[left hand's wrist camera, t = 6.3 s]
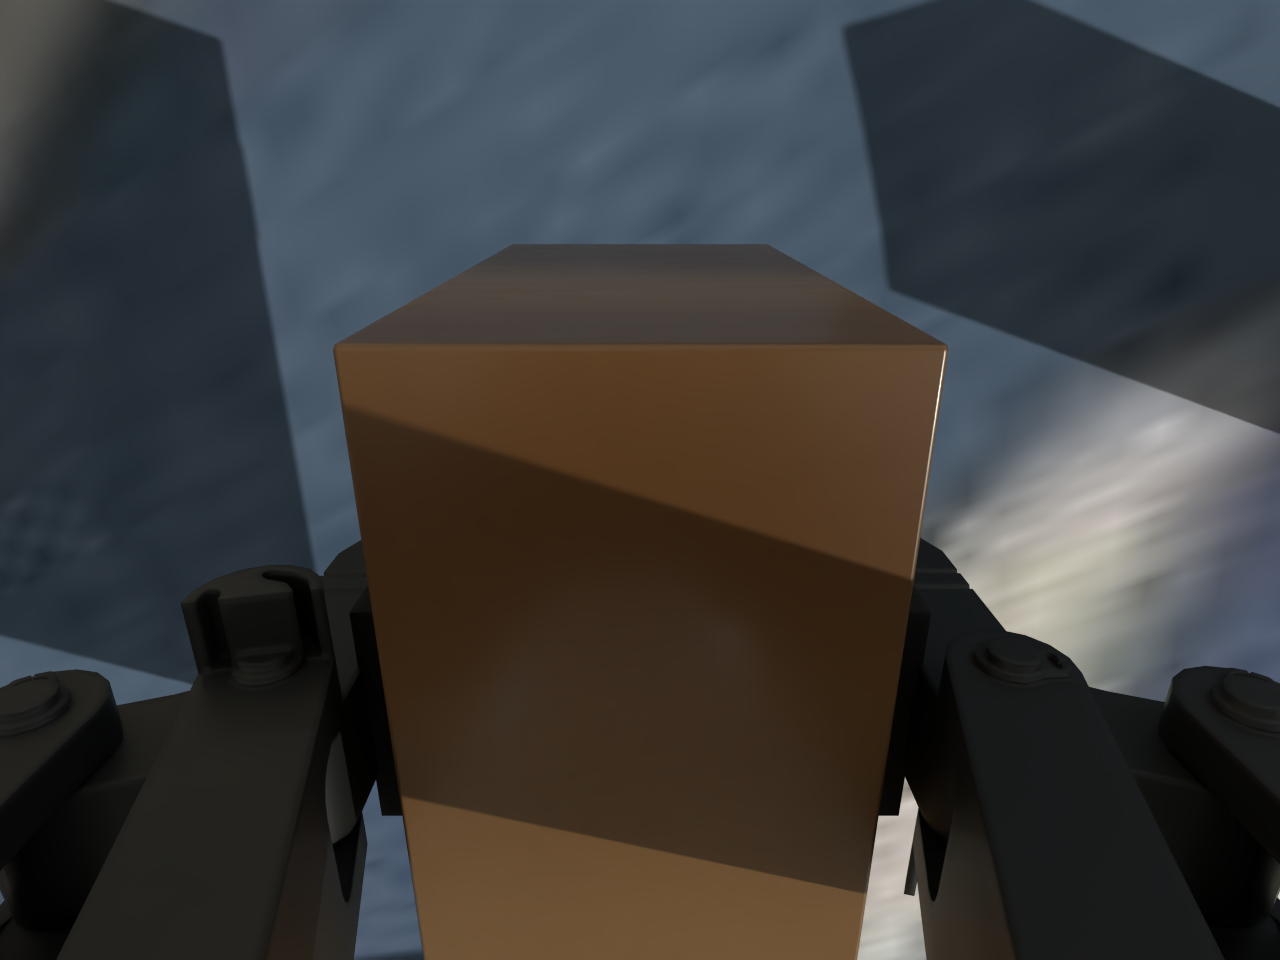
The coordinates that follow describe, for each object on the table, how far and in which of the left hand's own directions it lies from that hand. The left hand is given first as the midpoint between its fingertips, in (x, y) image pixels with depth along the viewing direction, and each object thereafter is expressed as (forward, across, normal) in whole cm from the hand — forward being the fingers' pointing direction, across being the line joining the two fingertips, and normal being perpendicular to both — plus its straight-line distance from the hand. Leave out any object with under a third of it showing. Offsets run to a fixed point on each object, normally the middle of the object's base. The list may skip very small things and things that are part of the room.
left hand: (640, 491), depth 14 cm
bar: (+1, 0, -7) cm, 7 cm away
